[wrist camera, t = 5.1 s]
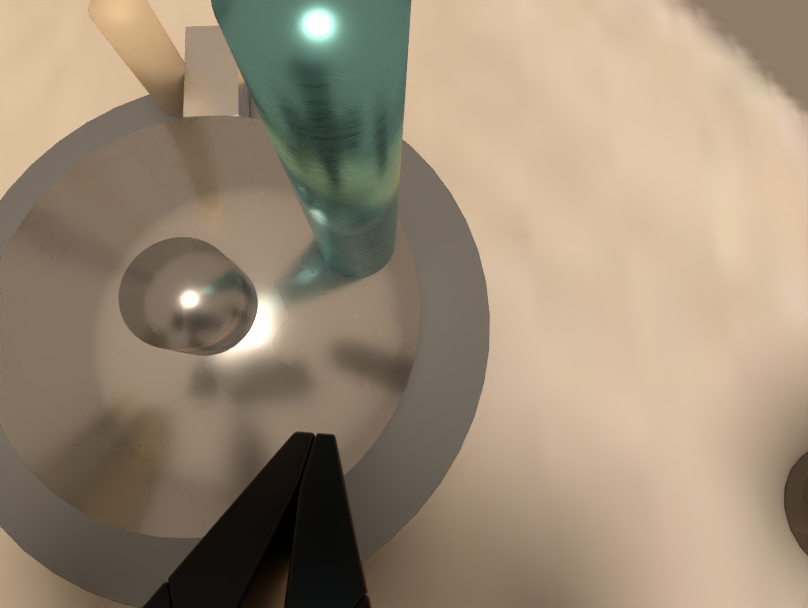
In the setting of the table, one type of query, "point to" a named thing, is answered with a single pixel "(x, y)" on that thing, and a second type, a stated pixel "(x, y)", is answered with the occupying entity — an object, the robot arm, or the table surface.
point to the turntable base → (404, 433)
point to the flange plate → (220, 274)
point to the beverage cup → (798, 501)
